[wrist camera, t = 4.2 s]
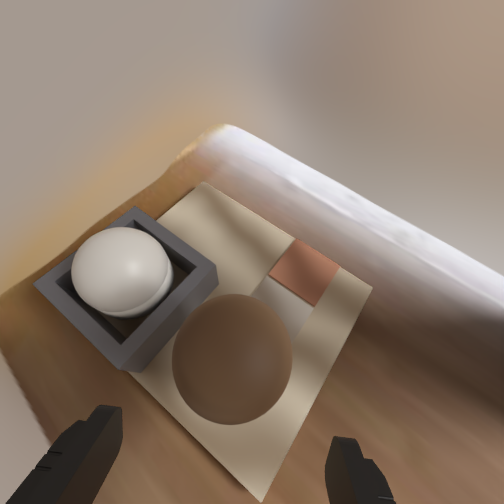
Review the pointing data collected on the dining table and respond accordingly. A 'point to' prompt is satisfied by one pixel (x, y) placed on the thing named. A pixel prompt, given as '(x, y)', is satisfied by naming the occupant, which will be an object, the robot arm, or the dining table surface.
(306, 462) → the dining table surface
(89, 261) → the dome button
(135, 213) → the dome frame
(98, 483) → the robot arm
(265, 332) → the pawn
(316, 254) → the game board
